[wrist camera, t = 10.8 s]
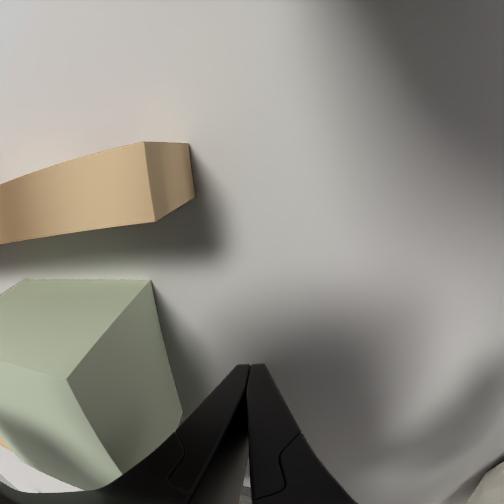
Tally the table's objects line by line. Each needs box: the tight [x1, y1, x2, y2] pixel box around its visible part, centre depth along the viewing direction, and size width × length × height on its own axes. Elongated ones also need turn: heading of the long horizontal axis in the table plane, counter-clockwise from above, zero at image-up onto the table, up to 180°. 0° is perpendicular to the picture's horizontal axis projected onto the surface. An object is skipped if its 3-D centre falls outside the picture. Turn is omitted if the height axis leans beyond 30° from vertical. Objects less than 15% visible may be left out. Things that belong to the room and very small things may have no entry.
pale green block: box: [0, 278, 183, 491], centre depth 8 cm, size 6×6×5 cm
